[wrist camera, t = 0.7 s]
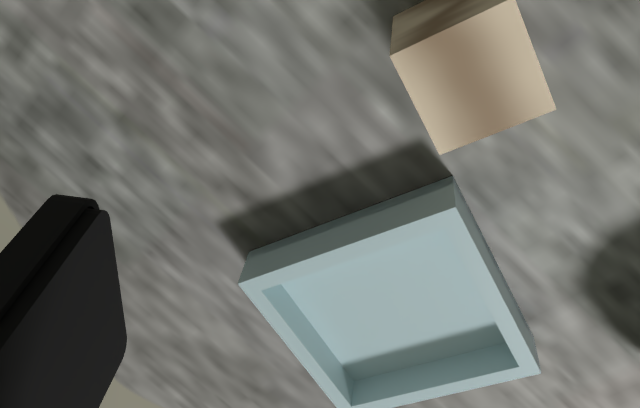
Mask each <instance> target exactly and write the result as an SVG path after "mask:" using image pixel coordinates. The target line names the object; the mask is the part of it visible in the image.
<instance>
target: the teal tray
mask: <svg viewBox="0 0 640 408" xmlns="http://www.w3.org/2000/svg"><path fill="white" fill-rule="evenodd" d="M238 285H239V286H240V287H241V288H242V290H243V291H244V292H245V293H246V295H247V296H248V297H249V298H250V300H251V301H252V302H253V303H254V305H255V306H256V307H257V308H258V310H259V311H260V312H261V314H262V315H263V316H264V317H265V319H266V320H267V321H268V322H269V324H270V325H271V326H272V327H273V329H274V330H275V331H276V332H277V334H278V335H279V336H280V337H281V339H282V340H283V341H284V342H285V344H286V345H287V346H288V347H289V349H290V350H291V351H292V352H293V354H294V355H295V356H296V357H297V359H298V360H299V361H300V362H301V364H302V365H303V366H304V367H305V369H306V370H307V371H308V372H309V374H310V375H311V376H312V377H313V379H314V380H315V381H316V382H317V384H318V385H319V386H320V387H321V389H322V390H323V391H324V392H325V394H326V395H327V396H328V397H329V399H330V400H331V401H332V403H333V404H334V405H335V406H336V408H393V407H397V406H401V405H406V404H410V403H415V402H419V401H423V400H428V399H432V398H436V397H441V396H445V395H449V394H454V393H458V392H463V391H467V390H471V389H476V388H480V387H484V386H489V385H493V384H497V383H502V382H506V381H510V380H515V379H519V378H524V377H528V376H532V375H537V374H541V369H540V364H539V360H538V355H537V350H536V346H535V341H534V336H533V334H532V332H531V331H530V329H529V327H528V325H527V323H526V321H525V319H524V317H523V315H522V313H521V311H520V309H519V307H518V305H517V303H516V301H515V299H514V297H513V295H512V293H511V291H510V289H509V287H508V285H507V283H506V281H505V279H504V277H503V275H502V273H501V271H500V269H499V267H498V265H497V263H496V261H495V259H494V257H493V255H492V253H491V251H490V249H489V247H488V245H487V243H486V241H485V239H484V237H483V235H482V233H481V231H480V229H479V227H478V225H477V223H476V221H475V219H474V217H473V215H472V213H471V211H470V209H469V207H468V205H467V203H466V201H465V199H464V197H463V195H462V193H461V191H460V189H459V187H458V185H457V183H456V181H455V179H454V177H453V176H450V177H448V178H445V179H442V180H440V181H437V182H434V183H432V184H429V185H426V186H424V187H421V188H418V189H416V190H413V191H410V192H408V193H405V194H402V195H400V196H397V197H394V198H392V199H389V200H386V201H384V202H381V203H378V204H376V205H373V206H370V207H368V208H365V209H362V210H360V211H357V212H354V213H351V214H349V215H346V216H343V217H341V218H338V219H335V220H333V221H330V222H327V223H325V224H322V225H319V226H317V227H314V228H311V229H309V230H306V231H303V232H301V233H298V234H295V235H293V236H290V237H287V238H285V239H282V240H279V241H277V242H274V243H271V244H269V245H266V246H263V247H261V248H258V249H255V250H252V251H250V252H249V253H248V256H247V259H246V262H245V265H244V268H243V270H242V273H241V276H240V279H239V282H238Z"/></svg>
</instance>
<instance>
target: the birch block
mask: <svg viewBox="0 0 640 408" xmlns="http://www.w3.org/2000/svg"><path fill="white" fill-rule="evenodd" d="M390 58H391V60H392V62H393V64H394V66H395V68H396V70H397V72H398V74H399V75H400V77H401V79H402V81H403V83H404V85H405V87H406V89H407V91H408V93H409V95H410V97H411V99H412V101H413V103H414V105H415V107H416V109H417V111H418V113H419V115H420V117H421V119H422V121H423V123H424V125H425V127H426V129H427V131H428V133H429V135H430V137H431V139H432V141H433V143H434V145H435V147H436V149H437V151H438V153H439V155H441V154H444V153H447V152H449V151H452V150H454V149H457V148H459V147H462V146H464V145H467V144H470V143H472V142H475V141H477V140H480V139H482V138H485V137H487V136H490V135H493V134H495V133H498V132H500V131H503V130H505V129H508V128H510V127H513V126H516V125H518V124H521V123H523V122H526V121H528V120H531V119H533V118H536V117H539V116H541V115H544V114H546V113H549V112H551V111H554V110H556V107H555V104H554V102H553V99H552V96H551V94H550V91H549V88H548V86H547V83H546V80H545V78H544V75H543V72H542V70H541V67H540V64H539V62H538V59H537V56H536V54H535V51H534V48H533V46H532V43H531V40H530V38H529V35H528V32H527V30H526V27H525V24H524V22H523V19H522V16H521V14H520V11H519V8H518V6H517V3H516V0H425V1H423V2H421V3H419V4H417V5H415V6H413V7H411V8H409V9H407V10H405V11H403V12H401V13H399V14H397V15H395V16H393V24H392V35H391V46H390Z"/></svg>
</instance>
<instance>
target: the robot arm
mask: <svg viewBox="0 0 640 408" xmlns="http://www.w3.org/2000/svg"><path fill="white" fill-rule="evenodd" d="M126 343H127V334H126V327H125V320H124V313H123V306H122V299H121V292H120V285H119V278H118V271H117V264H116V257H115V250H114V243H113V236H112V230H111V223H110V217H109V214H108V212H107V211H105V210H99V207H98V204H97V202H96V201H95V200H93V199H88V198H81V197H73V196H65V195H58V194H56V195H52V196H51V197H50V198H49V199H47V201H46V202H45V203H44V204H43V205H42V206H41V207H40V209H39V210H38V211H37V212H36V213H35V214H34V215H33V216H32V218H31V219H30V220H29V221H28V222H27V223H26V224H25V226H24V227H23V228H22V229H21V230H20V231H19V233H17V235H16V236H15V237H14V238H13V239H12V240H11V242H10V243H9V244H8V245H7V246H6V247H5V248H4V249H3V250H2V252H1V253H0V408H99V406H100V404H101V402H102V400H103V398H104V396H105V394H106V392H107V390H108V388H109V385H110V384H111V382H112V380H113V378H114V376H115V373H116V371H117V369H118V367H119V365H120V363H121V361H122V359H123V357H124V353H125V349H126Z"/></svg>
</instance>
